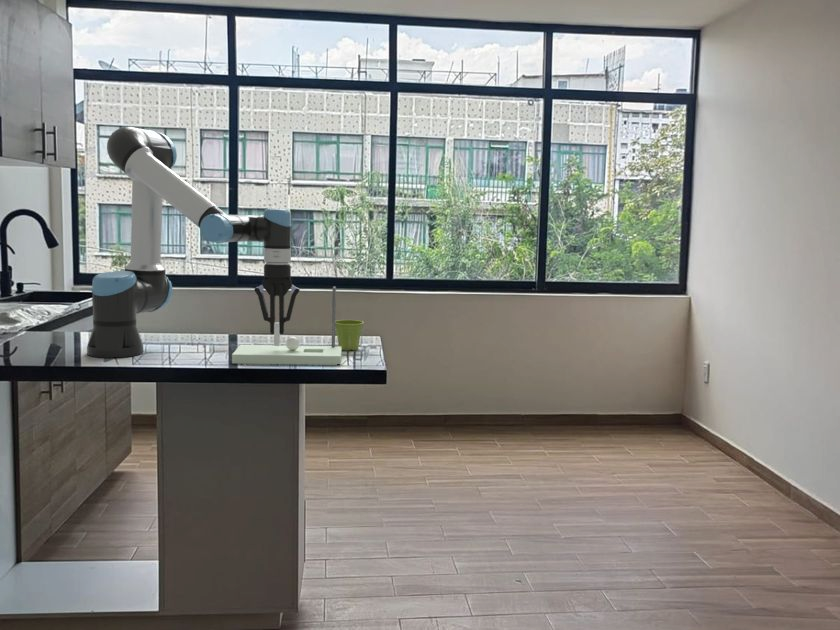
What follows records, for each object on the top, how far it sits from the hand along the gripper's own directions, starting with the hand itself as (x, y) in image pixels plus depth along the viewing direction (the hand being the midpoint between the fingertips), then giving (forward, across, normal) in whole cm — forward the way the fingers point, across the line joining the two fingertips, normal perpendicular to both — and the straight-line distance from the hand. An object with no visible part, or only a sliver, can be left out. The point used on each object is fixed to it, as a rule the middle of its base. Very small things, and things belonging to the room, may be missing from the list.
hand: (277, 345), depth 221 cm
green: (+4, +3, +2) cm, 6 cm away
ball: (0, +4, 0) cm, 4 cm away
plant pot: (+4, +20, +18) cm, 28 cm away
